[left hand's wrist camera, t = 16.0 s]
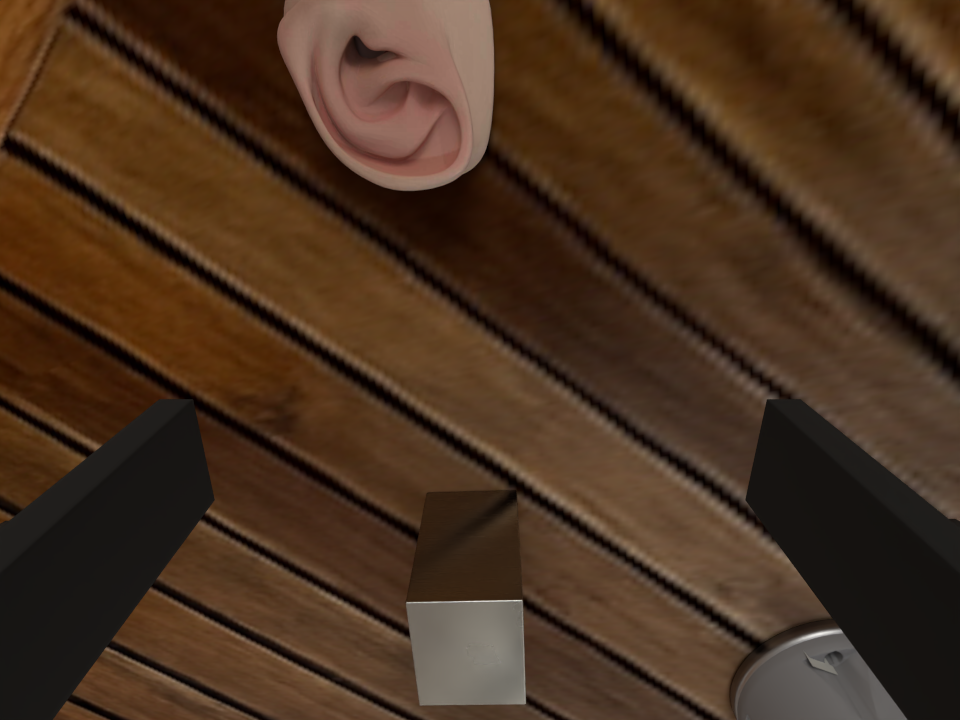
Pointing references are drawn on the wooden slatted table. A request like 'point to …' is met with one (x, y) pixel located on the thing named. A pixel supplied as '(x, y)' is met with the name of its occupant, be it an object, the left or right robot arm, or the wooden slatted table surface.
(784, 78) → the wooden slatted table surface
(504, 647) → the block
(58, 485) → the left robot arm
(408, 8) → the anatomical model
